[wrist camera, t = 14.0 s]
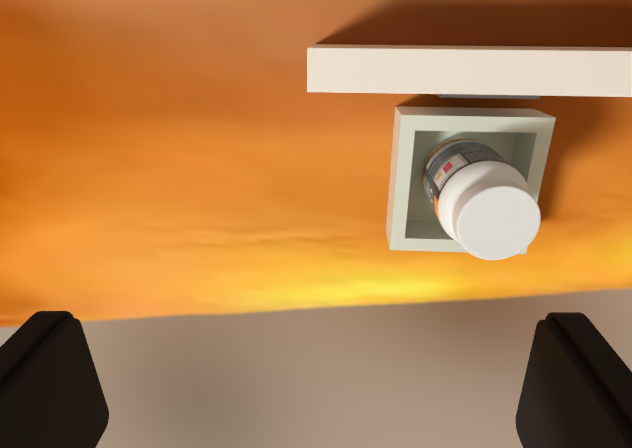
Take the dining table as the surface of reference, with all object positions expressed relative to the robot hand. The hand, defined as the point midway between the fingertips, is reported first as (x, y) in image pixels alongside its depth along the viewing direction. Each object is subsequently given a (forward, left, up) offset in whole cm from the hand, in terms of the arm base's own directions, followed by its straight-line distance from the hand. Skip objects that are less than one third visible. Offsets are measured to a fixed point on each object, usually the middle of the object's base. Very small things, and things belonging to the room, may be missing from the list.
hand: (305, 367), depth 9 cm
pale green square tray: (+4, +10, -27) cm, 28 cm away
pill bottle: (+3, +10, -26) cm, 28 cm away
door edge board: (-4, +10, -27) cm, 29 cm away
